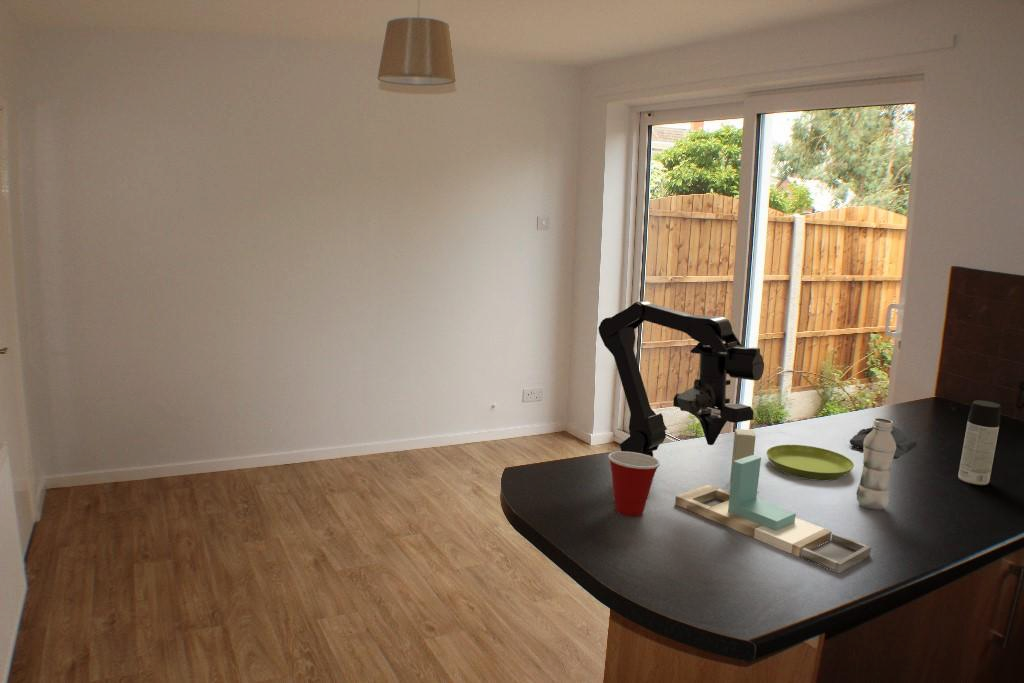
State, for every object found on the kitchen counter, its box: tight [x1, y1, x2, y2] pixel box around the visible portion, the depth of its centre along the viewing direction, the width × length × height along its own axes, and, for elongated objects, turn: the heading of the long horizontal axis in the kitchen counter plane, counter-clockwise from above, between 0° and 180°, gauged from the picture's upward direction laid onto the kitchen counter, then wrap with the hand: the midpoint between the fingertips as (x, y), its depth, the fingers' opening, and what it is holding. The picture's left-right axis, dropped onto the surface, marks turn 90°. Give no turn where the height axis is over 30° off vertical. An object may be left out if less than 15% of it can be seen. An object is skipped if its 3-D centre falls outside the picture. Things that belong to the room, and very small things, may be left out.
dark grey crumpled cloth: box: [849, 425, 918, 459], centre depth 210 cm, size 15×22×5 cm
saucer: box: [765, 444, 855, 481], centre depth 187 cm, size 21×21×3 cm
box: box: [729, 428, 756, 482], centre depth 173 cm, size 5×4×13 cm
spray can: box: [957, 399, 1002, 486], centre depth 182 cm, size 7×7×20 cm
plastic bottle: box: [856, 417, 896, 511], centre depth 163 cm, size 6×7×20 cm
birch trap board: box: [674, 484, 872, 574], centre depth 151 cm, size 37×12×2 cm, turn 40°
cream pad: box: [753, 517, 825, 554], centre depth 147 cm, size 8×12×2 cm, turn 129°
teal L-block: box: [728, 454, 797, 531], centre depth 150 cm, size 11×7×11 cm, turn 40°
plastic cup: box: [608, 450, 661, 518], centre depth 155 cm, size 11×11×12 cm
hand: (710, 444), depth 163 cm, fingers closed
